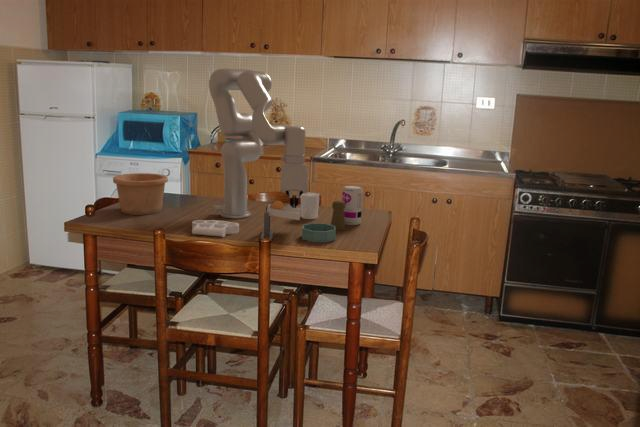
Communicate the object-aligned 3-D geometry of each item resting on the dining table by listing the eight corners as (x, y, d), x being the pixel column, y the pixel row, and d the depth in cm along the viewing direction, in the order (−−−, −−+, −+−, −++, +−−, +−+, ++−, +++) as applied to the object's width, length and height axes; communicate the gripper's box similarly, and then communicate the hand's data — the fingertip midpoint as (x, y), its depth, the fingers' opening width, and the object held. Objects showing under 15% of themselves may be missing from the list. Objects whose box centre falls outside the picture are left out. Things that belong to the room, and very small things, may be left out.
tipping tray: (266, 214, 210) (267, 208, 209) (269, 204, 227) (270, 198, 227) (299, 220, 211) (300, 213, 210) (299, 209, 228) (300, 203, 228)
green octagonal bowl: (302, 241, 210) (302, 231, 209) (302, 233, 222) (302, 222, 221) (336, 242, 211) (336, 231, 210) (334, 233, 223) (334, 223, 222)
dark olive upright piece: (329, 226, 234) (330, 199, 231) (344, 226, 235) (345, 199, 232) (330, 230, 228) (332, 202, 226) (346, 230, 229) (347, 202, 226)
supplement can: (347, 226, 235) (349, 189, 232) (337, 221, 242) (339, 185, 239) (364, 224, 239) (366, 188, 235) (354, 220, 246) (356, 184, 242)
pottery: (174, 206, 259) (173, 174, 256) (159, 217, 238) (158, 182, 234) (125, 204, 260) (124, 172, 256) (106, 215, 238) (104, 180, 235)
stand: (260, 241, 209) (260, 214, 207) (262, 231, 222) (263, 205, 220) (271, 241, 209) (271, 214, 207) (273, 231, 223) (273, 205, 220)
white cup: (316, 220, 243) (317, 196, 241) (298, 218, 244) (298, 195, 242) (320, 216, 250) (321, 193, 248) (302, 214, 252) (303, 191, 250)
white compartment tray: (183, 235, 214) (198, 226, 228) (231, 239, 211) (243, 229, 225) (183, 226, 213) (198, 217, 227) (231, 230, 211) (243, 221, 225)
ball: (270, 209, 211) (275, 199, 211) (270, 206, 215) (276, 197, 215) (279, 214, 212) (285, 205, 211) (280, 212, 216) (285, 203, 215)
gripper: (274, 160, 216) (273, 209, 220) (315, 161, 217) (313, 210, 221) (275, 158, 224) (274, 205, 227) (314, 159, 224) (313, 206, 228)
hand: (294, 207), depth 224 cm, fingers closed
